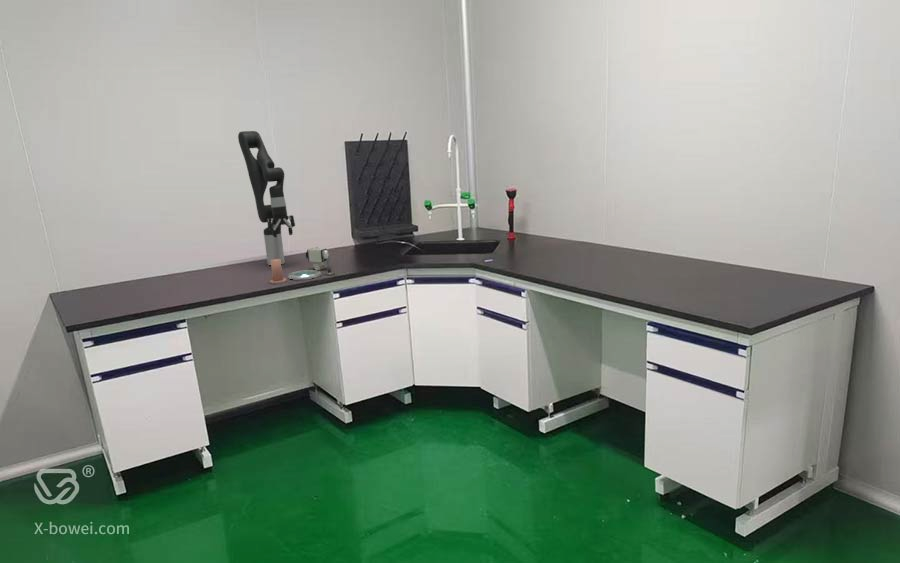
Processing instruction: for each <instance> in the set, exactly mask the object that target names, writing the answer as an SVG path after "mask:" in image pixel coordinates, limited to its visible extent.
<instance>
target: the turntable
mask: <svg viewBox="0 0 900 563" xmlns="http://www.w3.org/2000/svg"><path fill="white" fill-rule="evenodd" d="M320 275H322V273H321V270H314V269H304V270H297V271H293V272H290V273H288V274H287V279H288V278H289V279H288V280H290V279H293V280H292V281H308V279H309V280H313V279H312V278H314V279H316V277H317V278H319V277H321V276H320ZM318 276H319V277H318Z"/></svg>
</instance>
